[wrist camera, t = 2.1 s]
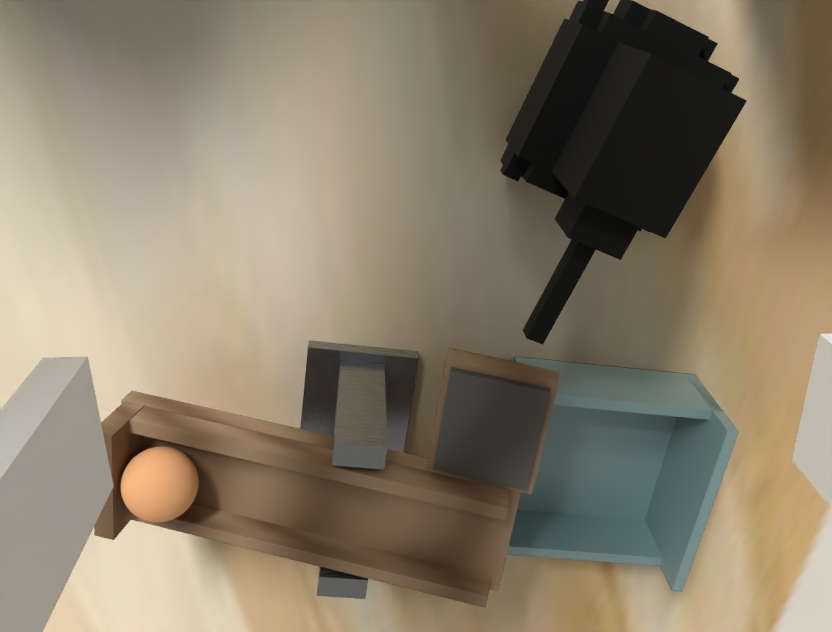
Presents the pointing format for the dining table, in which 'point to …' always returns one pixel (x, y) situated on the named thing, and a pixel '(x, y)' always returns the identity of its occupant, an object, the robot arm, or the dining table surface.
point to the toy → (617, 133)
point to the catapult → (358, 481)
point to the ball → (159, 484)
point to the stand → (357, 417)
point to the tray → (625, 469)
